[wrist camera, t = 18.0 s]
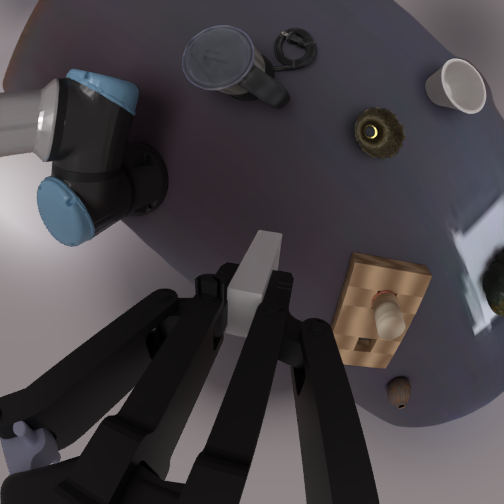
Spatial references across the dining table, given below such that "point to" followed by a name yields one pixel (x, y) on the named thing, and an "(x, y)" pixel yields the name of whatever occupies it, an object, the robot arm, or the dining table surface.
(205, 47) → the milk frother
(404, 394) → the vase
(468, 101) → the dixie cup
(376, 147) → the wire cup brush
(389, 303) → the beech peg
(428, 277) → the oak board
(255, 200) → the dining table surface
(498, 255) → the squash
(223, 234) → the dining table surface
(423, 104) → the dining table surface
